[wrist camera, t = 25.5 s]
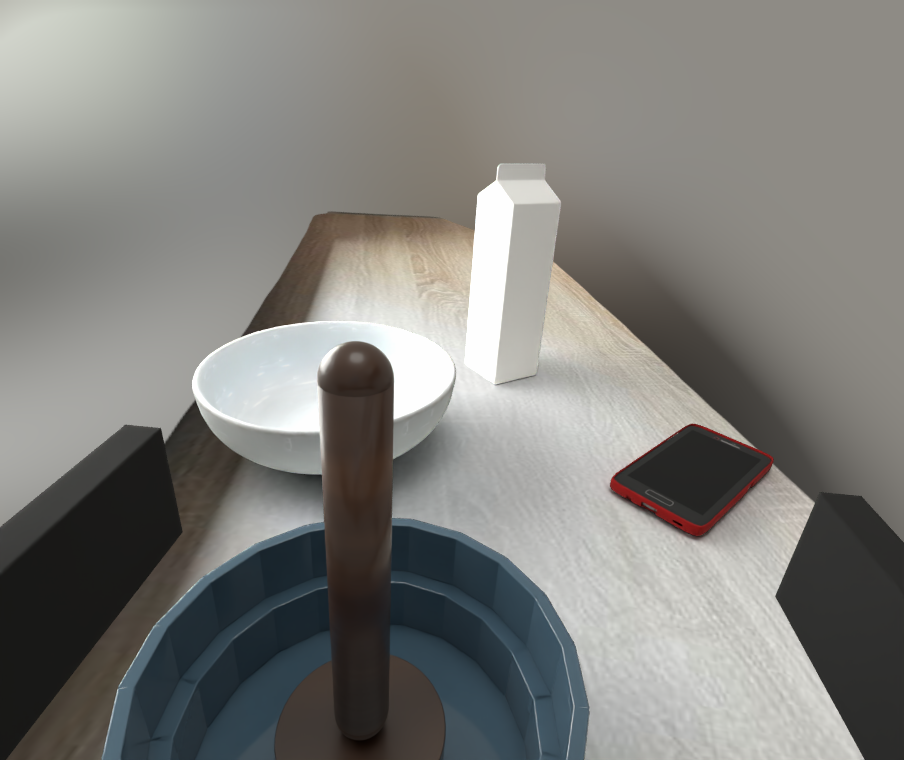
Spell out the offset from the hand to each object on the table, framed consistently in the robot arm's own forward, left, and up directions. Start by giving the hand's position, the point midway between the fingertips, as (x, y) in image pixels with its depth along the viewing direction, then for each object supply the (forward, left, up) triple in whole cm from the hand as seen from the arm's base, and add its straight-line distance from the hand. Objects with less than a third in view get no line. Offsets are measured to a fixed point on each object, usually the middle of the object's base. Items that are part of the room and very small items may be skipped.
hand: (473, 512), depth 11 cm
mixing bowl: (+6, +1, -19) cm, 20 cm away
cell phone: (+21, -29, -19) cm, 40 cm away
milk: (+44, -21, -19) cm, 52 cm away
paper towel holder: (+6, +1, -18) cm, 19 cm away
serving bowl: (+34, -1, -19) cm, 39 cm away
